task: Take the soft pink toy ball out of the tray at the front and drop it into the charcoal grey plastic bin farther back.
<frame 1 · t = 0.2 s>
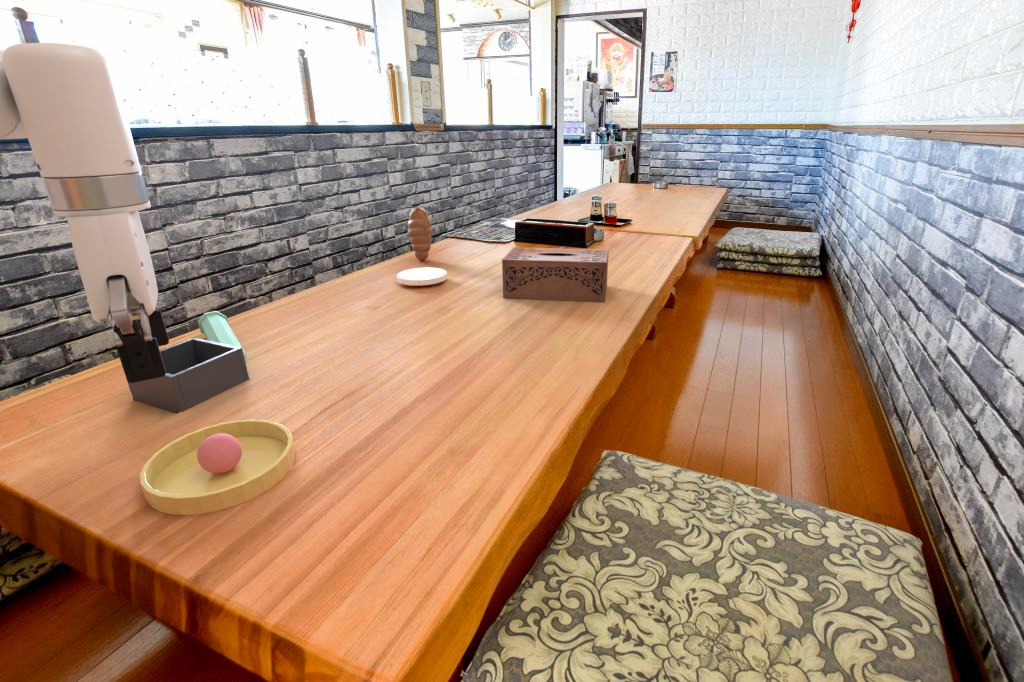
hand: (150, 361, 56), 19 cm above the table, tool pointing down, fingers open, 9 cm apart
container: (225, 354, 106), on the table
plastic lid: (422, 282, 152), on the table
tissue box cover: (556, 292, 140), on the table
croissant: (422, 261, 176), on the table
tray: (225, 473, 68), on the table
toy: (224, 469, 68), point 1 cm above the table, touching tray
bin: (193, 390, 91), on the table
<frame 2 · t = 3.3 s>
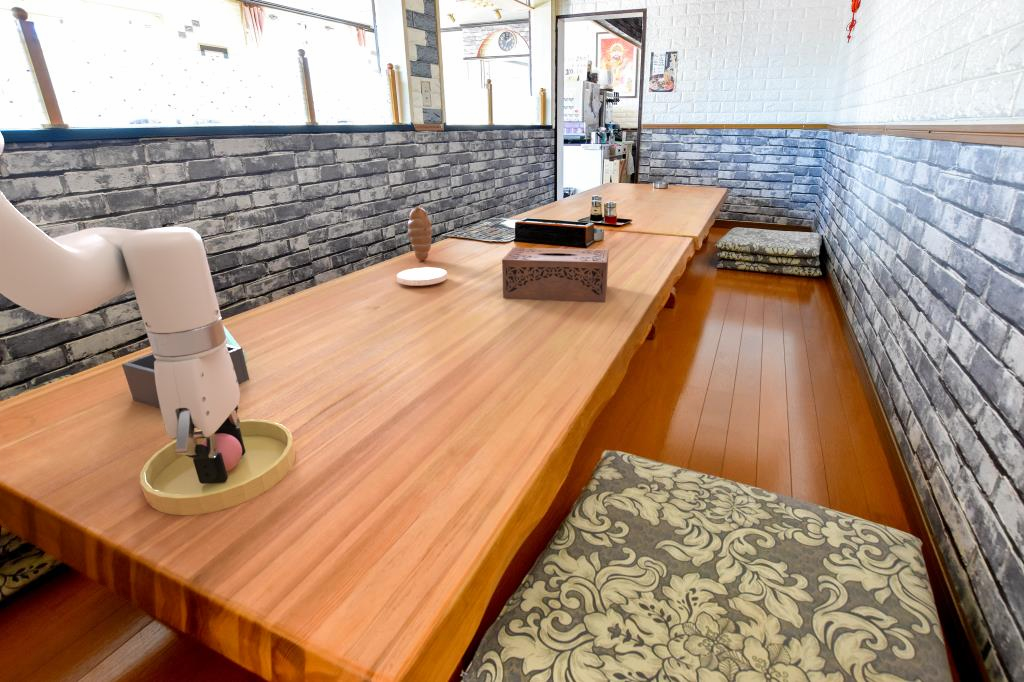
hand: (223, 466, 68), 1 cm above the table, tool pointing down, fingers closed on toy, 4 cm apart
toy: (224, 469, 68), point 1 cm above the table, touching tray, gripper
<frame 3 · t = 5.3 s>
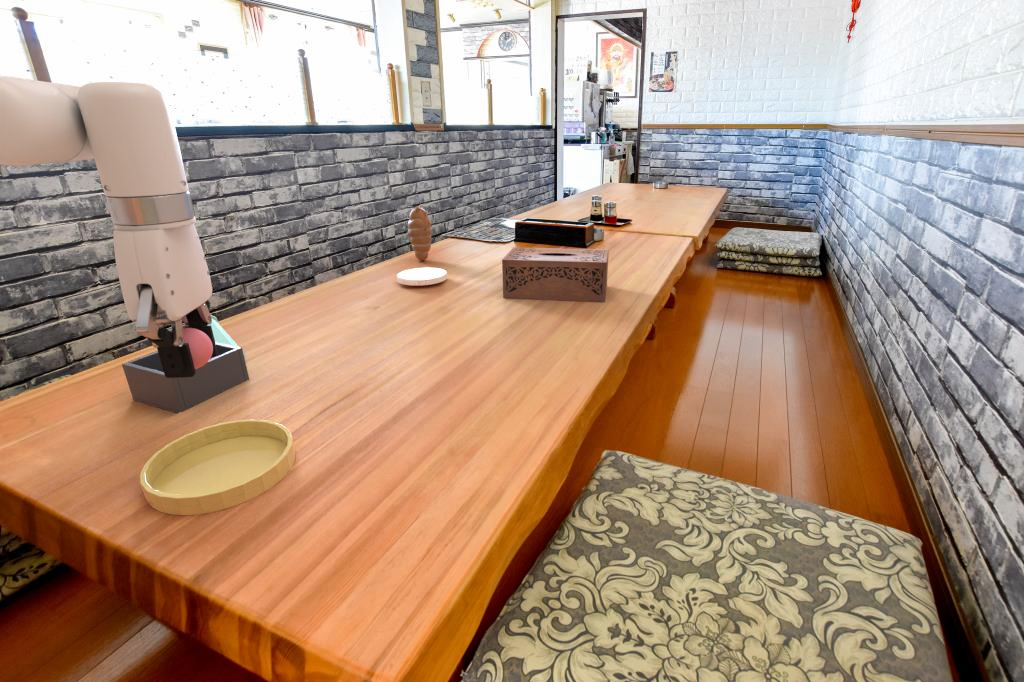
hand: (192, 364, 63), 15 cm above the table, tool pointing down, fingers closed on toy, 4 cm apart
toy: (193, 368, 63), point 15 cm above the table, touching gripper
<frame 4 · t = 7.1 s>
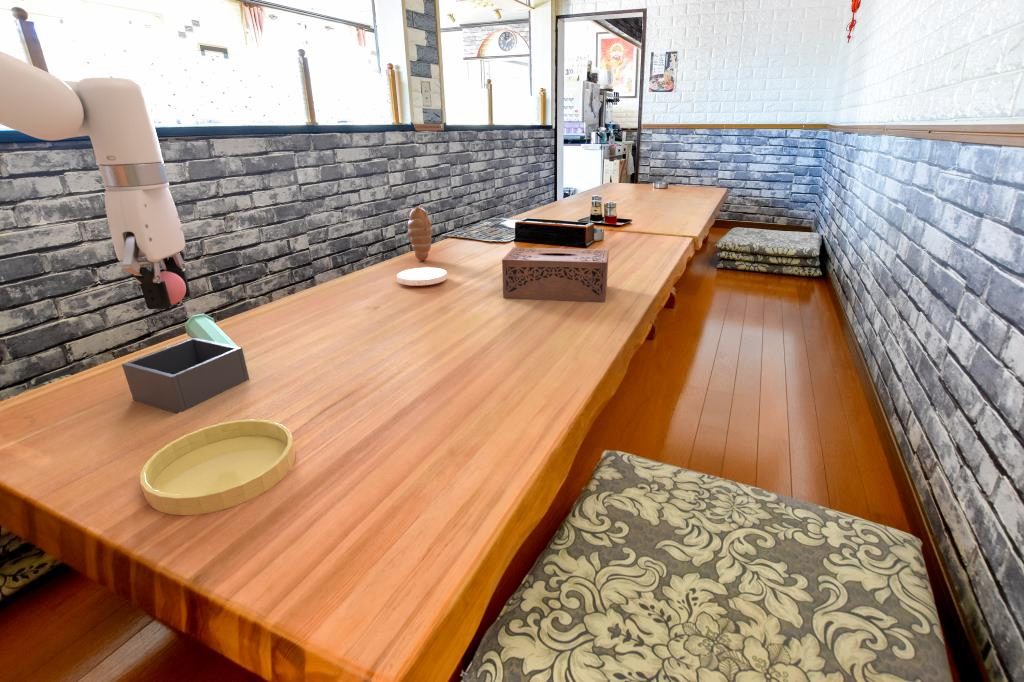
hand: (169, 301, 80), 17 cm above the table, tool pointing down, fingers closed on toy, 4 cm apart
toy: (170, 304, 80), point 17 cm above the table, touching gripper
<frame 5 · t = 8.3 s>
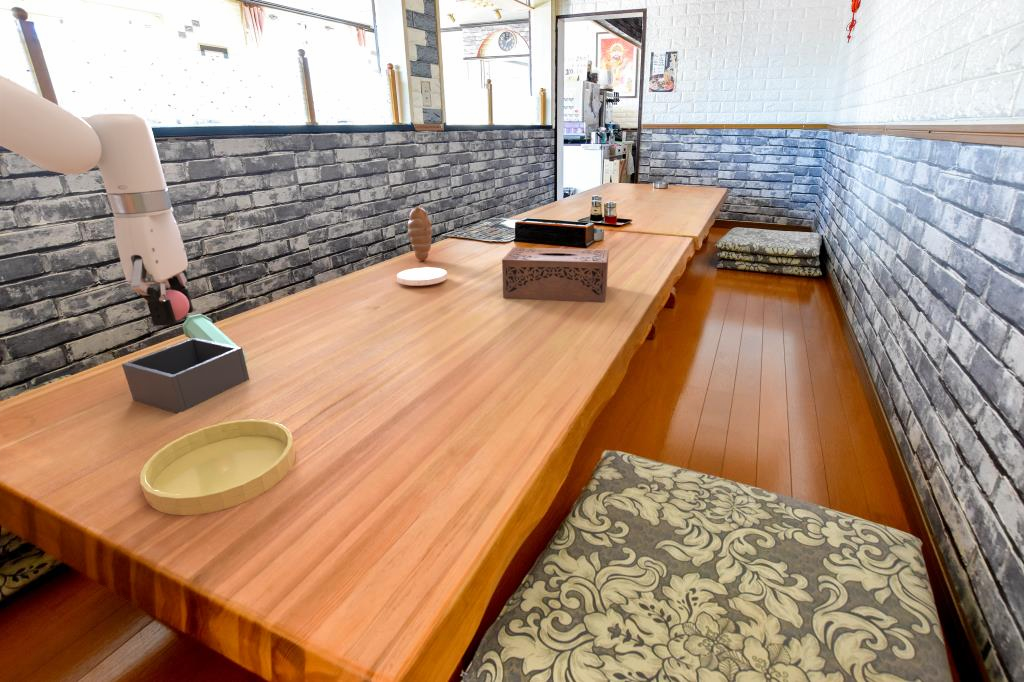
hand: (174, 317, 86), 13 cm above the table, tool pointing down, fingers closed on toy, 4 cm apart
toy: (175, 319, 86), point 13 cm above the table, touching gripper
when the fingers open (4 cm above the table, at t = 11.4 s): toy stays where it is, resting on bin.
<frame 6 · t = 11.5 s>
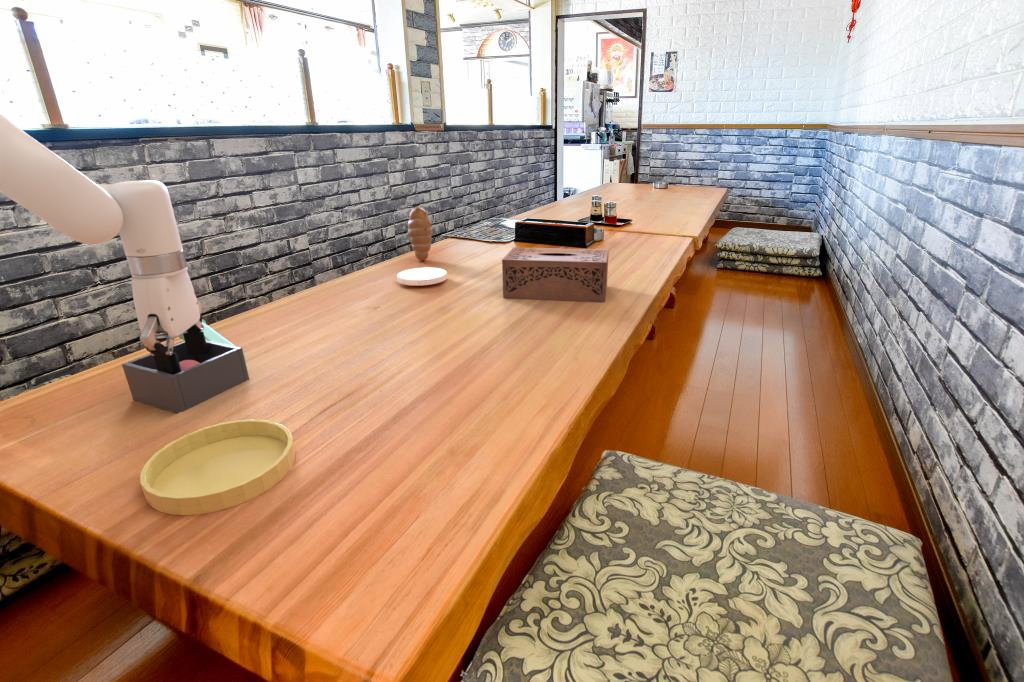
hand: (185, 364, 89), 5 cm above the table, tool pointing down, fingers open, 8 cm apart
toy: (192, 387, 90), point 1 cm above the table, touching bin
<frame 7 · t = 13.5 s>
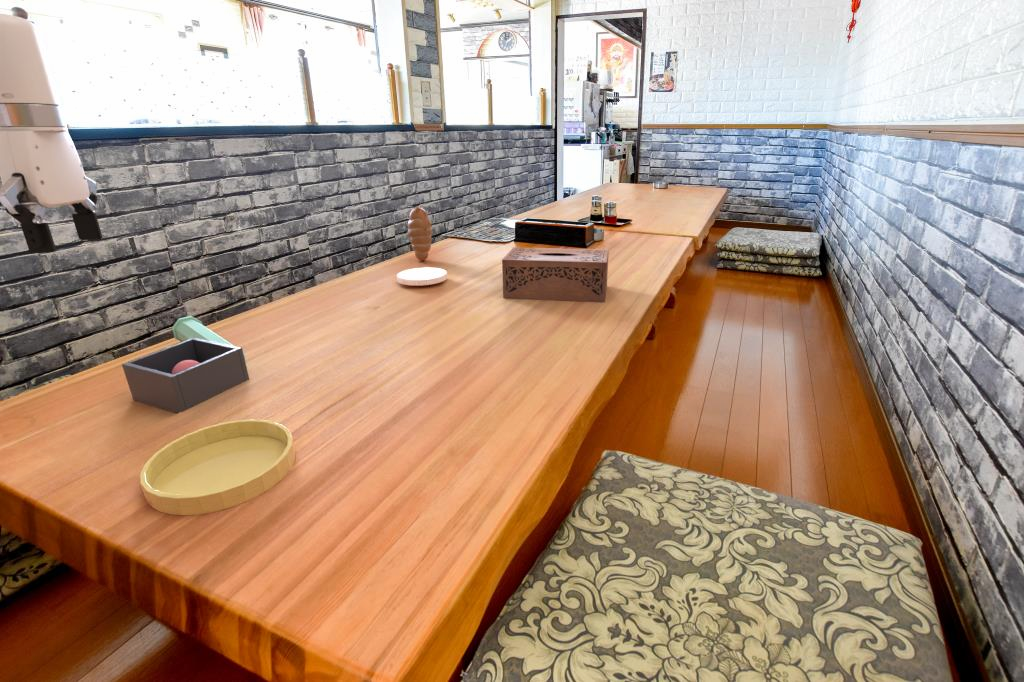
hand: (68, 245, 78), 26 cm above the table, tool pointing down, fingers open, 9 cm apart
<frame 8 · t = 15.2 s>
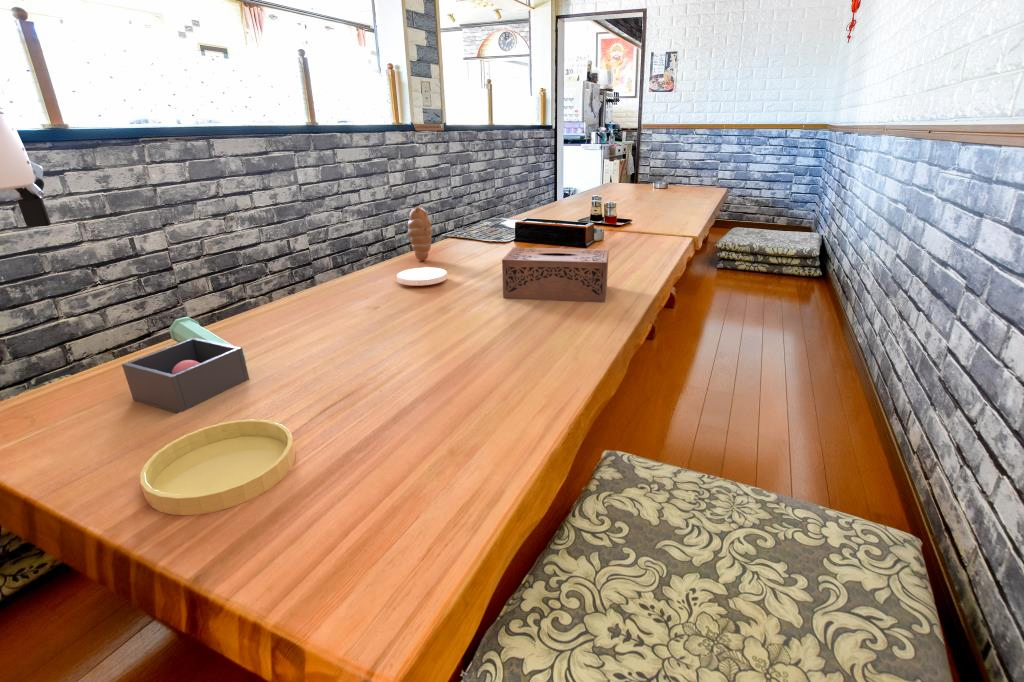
hand: (13, 231, 76), 28 cm above the table, tool pointing down, fingers open, 9 cm apart
at the end: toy inside the target area in the bin (0.0 cm from its centre), point 0.6 cm above the bin's base; the gripper is holding nothing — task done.
